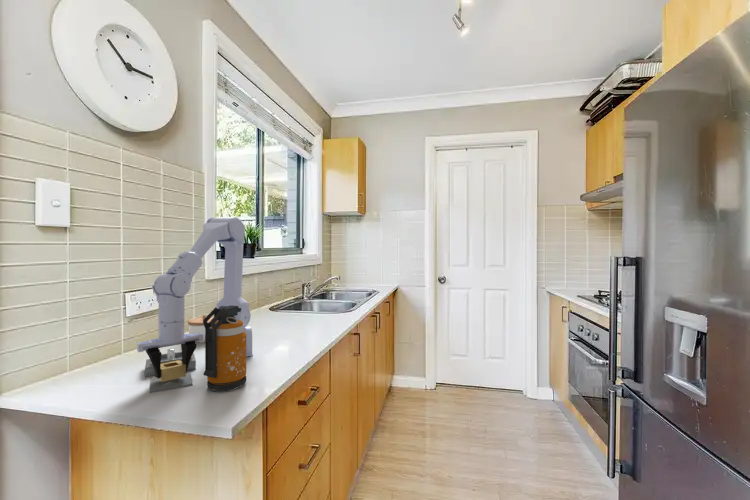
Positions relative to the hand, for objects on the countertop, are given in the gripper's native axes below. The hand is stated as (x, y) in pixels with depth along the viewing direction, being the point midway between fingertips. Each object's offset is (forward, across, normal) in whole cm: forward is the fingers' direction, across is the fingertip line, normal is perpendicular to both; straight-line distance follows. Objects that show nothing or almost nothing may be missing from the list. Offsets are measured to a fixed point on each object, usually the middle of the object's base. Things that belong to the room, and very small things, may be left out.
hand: (171, 374), depth 88 cm
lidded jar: (+2, -20, -37) cm, 43 cm away
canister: (+2, -8, +12) cm, 15 cm away
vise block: (+2, -3, -12) cm, 12 cm away
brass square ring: (+1, 0, 0) cm, 1 cm away
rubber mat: (+2, 0, 0) cm, 2 cm away
